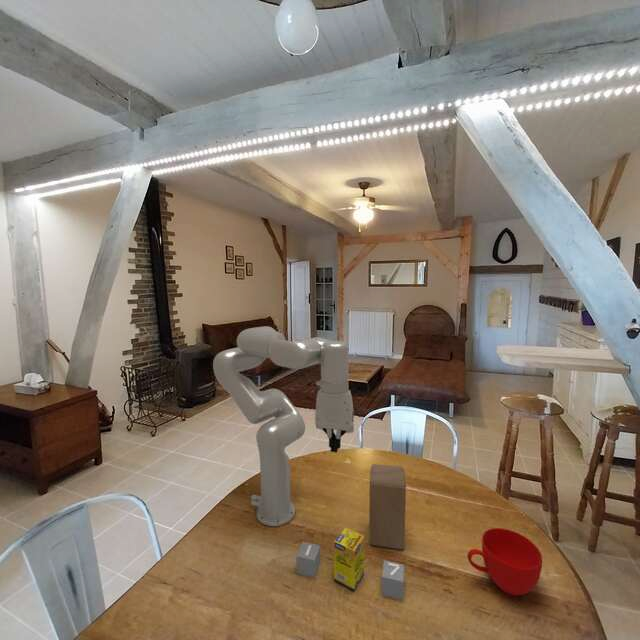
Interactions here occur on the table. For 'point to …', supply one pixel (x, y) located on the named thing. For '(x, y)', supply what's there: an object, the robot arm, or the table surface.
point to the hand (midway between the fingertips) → (334, 450)
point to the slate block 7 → (393, 580)
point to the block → (387, 506)
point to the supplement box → (349, 558)
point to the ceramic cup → (509, 560)
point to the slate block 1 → (308, 559)
